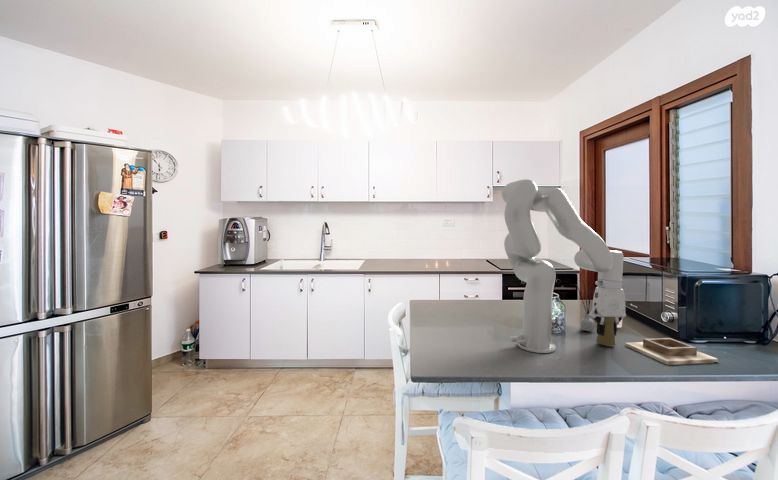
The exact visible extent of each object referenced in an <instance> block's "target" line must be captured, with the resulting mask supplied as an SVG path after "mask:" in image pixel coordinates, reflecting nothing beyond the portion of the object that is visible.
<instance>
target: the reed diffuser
mask: <svg viewBox="0 0 778 480" xmlns="http://www.w3.org/2000/svg"><path fill="white" fill-rule="evenodd" d="M584 285H586V282H585V281H584ZM576 286H577V290H578V293H579V295H580V298H581V301H582V304H583V307H584V310H585V313H584V317H582V318H581V320H580V330H582V331H585V332H593V331H594V330H595V322H594V321H595V320H594V319H593V318H592V317H590V316H589V313H590V304H591V297H592V288H593V286H592V285H591V287H590V291H589V299H588V298H587V296H585V302H586V305H585V302H584V301H583V300H584V299H583V297H582V294H581V292H580V287H579V285H578V284H576ZM584 292H585V294H584V295H587V289H586V286H584ZM587 299H588V300H587Z"/></svg>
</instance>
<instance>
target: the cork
mask: <svg viewBox="0 0 778 480" xmlns="http://www.w3.org/2000/svg"><path fill="white" fill-rule="evenodd" d="M600 318H601V317H599V319H600ZM615 320H616V318H615V317H605V318H604V323H603V325H605V331H604V336H601V335H599V334H597V336H596V341H595V342H596V343H597V344H599V345H603V346H607V347H608V346H609V347H615V346H616V338H615V337H616V336H615V335H614V322H615Z"/></svg>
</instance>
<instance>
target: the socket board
mask: <svg viewBox="0 0 778 480" xmlns="http://www.w3.org/2000/svg"><path fill="white" fill-rule="evenodd" d="M642 340H643V341H638V342H637V341H635V342H634V341H632V342H625V343H624V346H625V347H626V348H629V349H631V350H633V351H635V352H638V353H640V354H642V355H644V356H646V357H648V358H652V359H653V360H655V361H658V362H659V363H662V364H665V365H667V366H673V365H676V366H677V365H695V364H696V365H697V364H713V363H714V362H718V363H719V359H718V358H717V357H714V356H711V355H708V354H706V353H703V352H701V351H698V348H697V347H696V346H693V345H691V344H688V343H686V342H683V341H680V340H677V339H674V338H671V337H660V338H659V337H658V338H653V337H652V338H643V339H642ZM714 364H715V363H714Z"/></svg>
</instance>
